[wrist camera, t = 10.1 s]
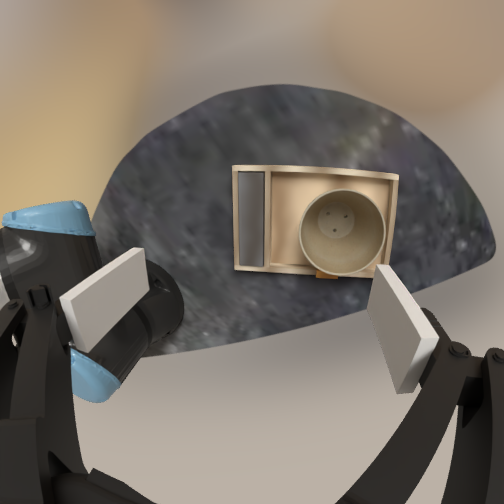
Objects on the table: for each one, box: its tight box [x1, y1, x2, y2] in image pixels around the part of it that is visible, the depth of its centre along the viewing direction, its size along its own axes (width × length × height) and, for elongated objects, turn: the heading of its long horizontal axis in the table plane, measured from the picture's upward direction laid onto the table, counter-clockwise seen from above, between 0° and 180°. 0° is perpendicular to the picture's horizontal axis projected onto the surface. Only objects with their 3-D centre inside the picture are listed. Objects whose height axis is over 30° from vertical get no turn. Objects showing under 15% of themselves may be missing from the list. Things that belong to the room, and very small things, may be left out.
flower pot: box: [299, 189, 386, 276], centre depth 32 cm, size 10×10×7 cm
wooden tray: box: [232, 165, 399, 279], centre depth 36 cm, size 22×14×3 cm
